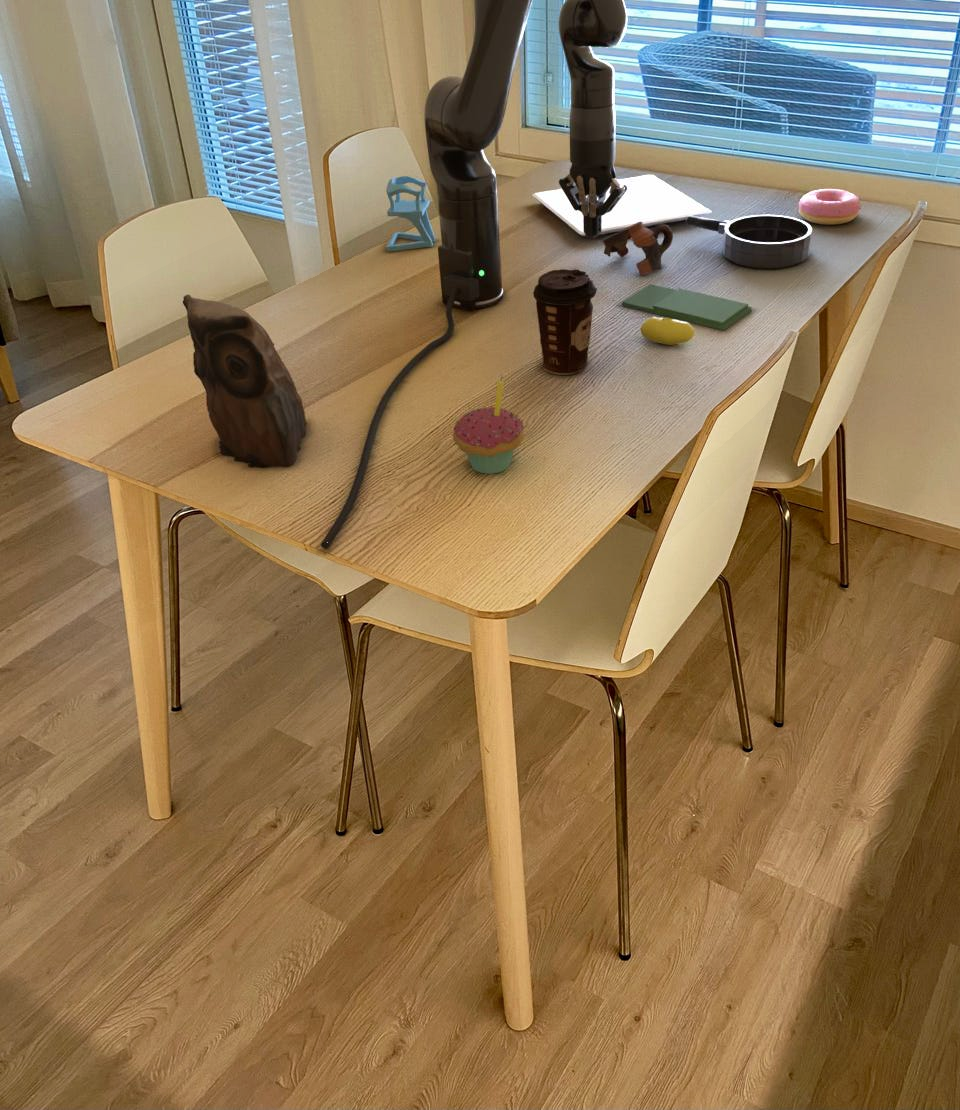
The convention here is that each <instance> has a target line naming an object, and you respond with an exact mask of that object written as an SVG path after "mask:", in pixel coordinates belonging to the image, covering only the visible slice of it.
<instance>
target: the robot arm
mask: <svg viewBox="0 0 960 1110" xmlns="http://www.w3.org/2000/svg"><path fill="white" fill-rule="evenodd" d="M533 1H534V0H472V5H473V23H474V25H473V26H474V28H473V40H472V45H471V48H470V49H471V50H470V53H469V57H468V61H467V63H466V67H465V70H464V73H463V76H462V77H461V76H455V75H453V76H452V75H449V76H445V77H442V78H440V79H439V80H437V81H436V82H434V84H433V85H432V86H431V88H430V89H429V91H428V93H427V95H426V98H425V104H424V112H423V114H424V115H423V116H424V117H423V119H424V130H425V131H424V132H425V137H426V146H427V156H428V163H429V168H430V172H431V175H432V178H433V179H434V182H435V185H436V193H437V203H438V204H437V205H438V216H439V227H440V228H439V229H440V238H441V239H440V240H441V244H439V245H438V246H437V257H438V266H439V267H438V268H439V279H440V288H441V289H440V290H441V291H440V292H441V300H442V304H444V305H446V308H445V315H446V320H447V330H446V332H445V333H444V334H443V335H442V336H441V337H439V338H436V339H435V340H433V341H431V342H429V344H427V345H426V346H425V347H424V348H422V349H421V350H420V352H418V353H417V354H416V355H415V356H413V358H412V359H411V360H409V362H407V364H406V365H404V367H403V368H402V369H401V370H400V372H399V373H398V374H397V375H396V376H395V377H394V379H393V380H392V382H391V383H390V384H389V386H388V388H387V389H386V390H385V392H384V394H383V396H382V398H381V399H380V401H379V403H378V405H377V408H376V410H375V412H374V415H373V417H372V419H371V422H370V425H369V429H368V432H367V435H366V439H365V443H364V446H363V449H362V453H361V456H360V460H359V464H358V467H357V470H356V474H355V477H354V480H353V483H352V486H351V488H350V491H349V494H348V496H347V498H346V501H345V503H344V505H343V507H342V509H341V511H340V513H339V514H338V516H337V518H336V519H335V520H334V523H333V524H332V526H331V527H330V529H329V530H328V532H327V533H326V535H325V537H323V540H322V541H321V543H320V545H321V548H323V549H325V550H327V549H329V548H330V546H331V544H332V542H333V541H334V540H335V538H336V536H337V535H338V533H339V532H340V530H341V528H342V527H343V525H344V523H345V522H346V520H347V518H348V517H349V515H350V513H351V511H352V509H353V507H354V504H355V503H356V500H357V498H358V496H359V492H360V490H361V486H362V483H363V481H364V478H365V474H366V470H367V467H368V464H369V460H370V455H371V451H372V448H373V445H374V441H375V437H376V433H377V430H378V426H379V424H380V421H381V419H382V416H383V413H384V411H385V408H386V406H387V404H388V402H389V400H390V399H391V397H392V395H393V394H394V392H395V390H396V389H397V387H398V386H399V385H400V383H401V382H402V381H403V380H404V378H405V377H406V376H407V375H408V374H409V372H410V371H412V370H413V368H414V367H416V366H417V365H418V363H419V362H421V361H422V360H423V359H424V358H425V357H426V356H427V355H428V354H430V353H431V352H432V351H433V350H434V349H436V348H437V347H439V346H441V345H443V344H444V343H446V342H447V341H449V340H450V338H451V337H452V336H453V333H454V330H455V321H454V315H453V309H454V307H455V308H459V309H462V310H466V311H469V312H472V311H474V310H477V309H482V308H487V307H490V306H493V305H496V304H498V303H499V302H501V301H502V299H503V298H504V289H503V280H502V279H503V278H502V262H501V261H502V260H501V259H502V258H501V241H500V218H499V202H498V180H497V174H496V171H495V169H494V168H493V166H492V165H491V163H490V162H489V161H488V159H487V157H486V155H485V152H484V150H485V149H487V148H488V147H490V145H491V144H492V143H493V142H494V140H495V139H496V138H497V136H498V134H499V132H500V131H501V127H502V124H503V122H504V118H505V114H506V109H507V105H508V100H509V95H510V89H511V84H512V80H513V75H514V70H515V66H516V61H517V57H518V53H519V50H520V46H521V43H522V40H523V37H524V32H525V28H526V26H527V23H528V22H527V21H528V18H529V15H530V13H531V8H532V4H533ZM627 26H628V13H627V8H626V4H625V1H624V0H565V1H564V3H563V4H562V6H561V8H560V10H559V15H558V34H559V39H560V42H561V46H562V50H563V54H564V58H565V61H566V65H567V66H566V67H567V70H568V75H569V78H570V79H569V80H570V112H569V162H570V163H571V165H570V167H569V173H568V174H567V175H566V176H564V177H561V178H560V179H559V180H558V184H559V187H560V189H562V190H563V191H564V193H565V195H566V196H567V198H568V200H569V202H570V203H571V205H572V207H573V208H574V210H576V211H577V210H578V211H580V212H581V213H582V215H583V224H584V225H583V230H584V233H585V234H586V236H585V237H586V238H589V239H595V238H597V237H599V236H600V235H599V234H600V233H601V231H602V225H601V224H602V216H603V215H605V214H606V213H608V212H610V211H612V209H613V208H614V207H615V205H616V204H617V203H618V202H619V200H620V199H621V198H622V196H623V195H624V194H625V192H626V191H627V186H626V185H621V184H620V183H619V182H618V181H617V180H618V179H617V173H616V170H615V167H614V165H615V161H616V141H617V140H616V138H617V137H616V136H617V135H616V132H617V127H616V126H617V124H616V122H617V120H616V119H617V117H616V115H617V114H616V108H615V106H616V105H615V87H616V86H615V83H616V81H615V80H616V78H615V77H616V75H615V69H614V67H613V65H612V64H610V63H608V62H606V61H603V60H601V59H600V58H597V56H595V53H594V52H593V50H592V48H603V49H604V48H605V49H608V48H613V47H616V46H618V45H619V44H620V42H621V41H622V40H623V38H624V36H625V34H626V32H627V31H626V30H627ZM610 186H611V188H610ZM609 188H610V191H609V194H610V196H609V197H608V198H607V200H606V201H605V199H606V192H607V191H608V189H609ZM604 201H605V202H604ZM327 542H328V543H327Z"/></svg>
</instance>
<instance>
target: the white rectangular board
mask: <svg viewBox="0 0 960 1110" xmlns="http://www.w3.org/2000/svg"><path fill="white" fill-rule="evenodd" d="M616 180H617V181H618V182H619V183H620V184H621V185H626V186H627V191H626V192H625V194H624V195H623V196H622V198H621V199H620V200H619V202H618V203H617V204H616V205H615V207H614V208H613V209H612V211H610V212H608V213H606V214H605V215H603V216H602V224H601V225H602V231H601V233H600V234H599V235H598V236H600V235H606V234H612V233H618V232H620V231H622V230H623V229H626V228H628V227H629V226H631V225H633V224H635V223H637V222H639V221H642V223H643V226H644V227H645V228H648V227H653V226H659V225H666V224H670V223H677V222H682V221H686V219H687V218H688V217H689V216H696V217H704V216H707V215H710V214H711V213H712V210H711V209H709V208H707V207H705V206H704V205H702V204H701V203H699V202H697V201H696V200H694V199H693V198H691V197H689V196H688V195H686V194H685V193H683V192H682V191H679V190H678V189H677V188H675V187H673V186H671V185H670V184H668V183H667V182H665V181H664V180H661V179H660V178H658V177H657V176H656V175H654V174H644V175H639V176H638V175H637V176H631V177H625V178H619V179H616ZM610 188H611V186H610ZM610 188H609V189H608V191H607V192H606V199H605V201H606V200H607V198H608V197H609V196H610V194H609V191H610ZM531 196H532V197H534V198H535V199H536V200H537V201H538V202H540V204H542V205H543V206H545V207H546V208H547V209H548V210H549V211H551V212H552V213H553V215H555V216H556V217H557V218H559V219H560V220H562V222H564V223H565V224H566V225H567V226H568V227H570V228H571V229H572V230H573V231H574V232H576V233H577V234H578V235H579V236H582V237H586V234H585V233H584V230H583V225H584V224H583V215H582V213H581V212H580V211H578V210H577V211H576V210H574V208H573V207H572V205H571V203H570V202H569V200H568V198H567V196H566V195H565V193H564V191H563V190H562V188H557V189H551V190H545V191H539V192H534V193H532V194H531ZM605 201H604V202H605Z"/></svg>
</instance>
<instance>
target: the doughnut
mask: <svg viewBox="0 0 960 1110" xmlns="http://www.w3.org/2000/svg"><path fill="white" fill-rule="evenodd" d="M797 207H798V212H799V215H800V216H801V218H803V219H804V220H805V221H807V222H810V223H813V224H818V225H828V226H829V225H830V226H831V225H841V224H846V223H849V222H851V221H854V219H855V218H857V216H858V215H859V213H860V210H862V203H861V199H859V196H857V195H856V194H854V193H853V192H850V191H847V190H844V189H838V188H837V189H836V188H823V189H816V190H811V191H808V192H806V193H805V194H803V196H802V197H800V200H799V202H798V204H797Z"/></svg>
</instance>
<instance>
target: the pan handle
mask: <svg viewBox="0 0 960 1110" xmlns="http://www.w3.org/2000/svg"><path fill="white" fill-rule="evenodd" d="M731 221H732V220H717V219H712V218H707V217H703V216H700V217H696V216H689V217H688V218H687V219H686V220H685V224H686V225H687V226H688V227H692V228H696V229H702V230H708V231H712V232H717V234H720V235H724V228H725V226H726V225H727V224H728V223H729V222H731Z"/></svg>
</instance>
